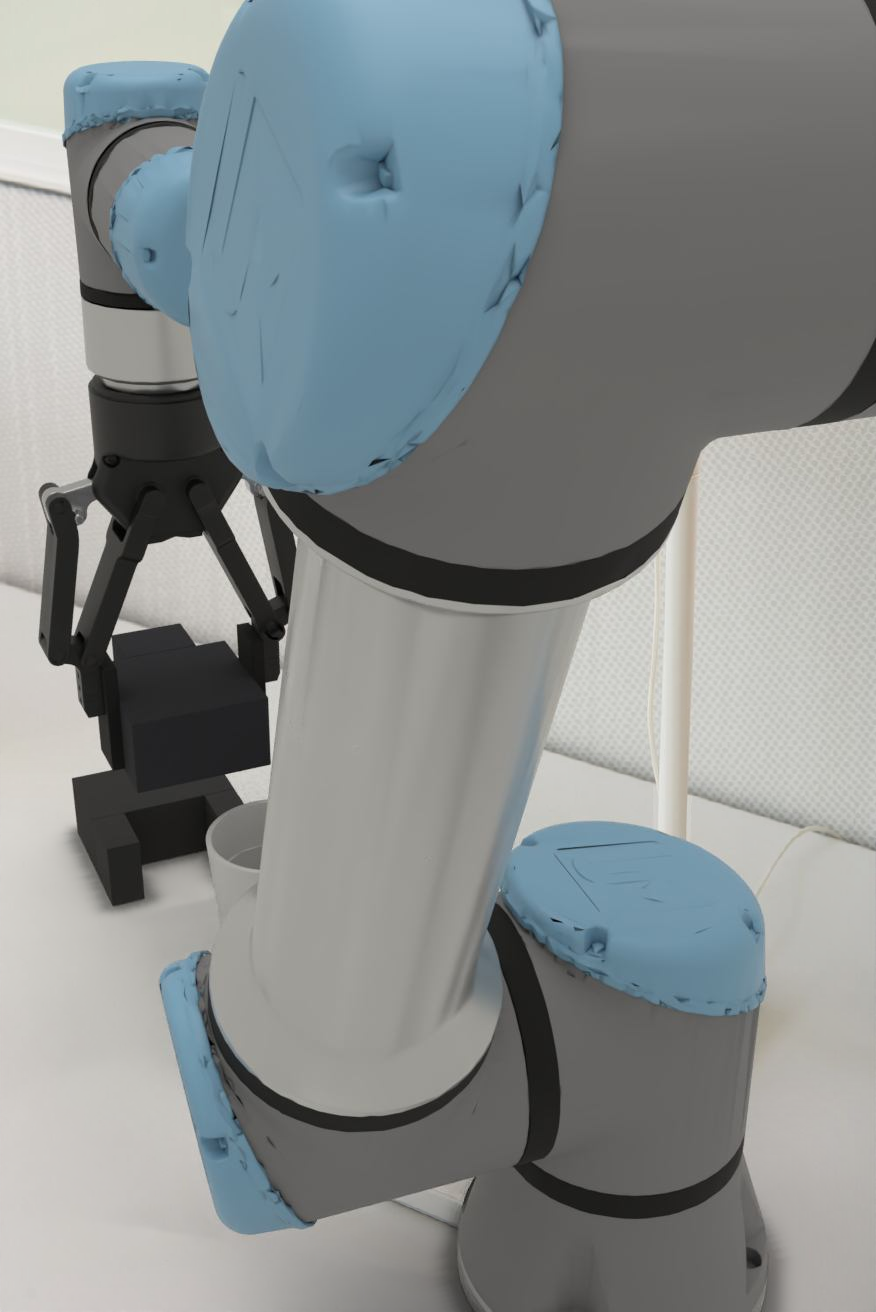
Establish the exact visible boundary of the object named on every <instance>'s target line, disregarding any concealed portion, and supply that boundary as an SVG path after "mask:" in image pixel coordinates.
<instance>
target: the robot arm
mask: <svg viewBox="0 0 876 1312" xmlns="http://www.w3.org/2000/svg"><path fill="white" fill-rule="evenodd" d="M62 88H63V89H62V90H63V91H62V93H63V117H64V131H63V133H62V135H61V139H62V147H64V148H65V150H66V158H67V167H68V168H67V169H68V177H69V179H68V180H69V186H70V197H71V206H72V215H73V224H74V233H75V234H74V235H75V244H76V252H77V263H78V273H79V293H80V300H81V301H80V303H81V315H82V327H83V342H84V355H85V364H86V367H87V369H88V370H89V371H90V372H92V373H93V376H92V378H91V379H90V380H89V382H88V385H87V390H88V400H89V413H90V422H91V423H90V424H91V434H92V446H93V459H92V464H91V466H90V468H89V471H88V473H87V477H86V478H83V479H81V480H77V481H74V482H71V483H68V484H65V485H61V486H59V485H58V484H57V483H54V482H46V483H43V484H41V486H40V487H39V490H38V499H39V502H40V506H41V508H42V511H43V515H44V518H45V521H46V534H45V547H44V548H45V549H44V559H43V560H44V561H43V574H42V585H41V587H42V588H41V598H40V599H41V600H40V613H39V624H38V625H39V626H38V637H37V639H38V644H39V645H40V647H41V649H42V651H43V653H44V655H45V657H46V659H47V660H48V662H49V664H50V665H52V666H55V667H60V666H64V665H71V666H74V668H75V669H74V670H75V680H76V688H77V700H78V702H79V704H80V706H81V708H82V710H83V711H84V713H85V714H86V716H87V718H88V719H91V718H97V721H98V733H99V741H100V750H101V752H102V754H103V756H104V757H105V760H106V761H107V763H108V765H109V767H110V769H111V770H113V771H115V770H120V769H125V764H124V752H123V741H122V730H121V718H120V707H119V704H120V699H119V688H118V677H117V668H116V666H115V665H114V663H113V662H112V661H113V660H112V658H111V656H110V655H109V654H108V651H107V650H108V648H109V645H110V642H111V641H112V635H114V631H115V629H116V626H117V623H118V620H119V616H120V614H121V612H122V608H123V606H124V604H125V600H126V598H127V594H128V592H129V589H130V586H131V584H132V581H133V578H134V575H135V572H136V571H137V570H136V569H137V567H138V564H139V563H141V562H142V561H143V559H144V557H145V556H146V555H145V554H146V551H147V549H148V546H149V545H153V544H160V543H163V542H166V541H168V540H171V539H173V538H176V537H177V538H185V539H186V538H187V539H188V538H189V539H191V538H197V537H203V536H204V538H205V540H206V542H207V543H208V545H209V547H210V549H211V551H212V552H213V554H214V556H215V558H216V560H217V561H218V563H219V565H220V566H221V568H222V571H223V573H224V574H225V575H226V578H227V579H228V581H229V583H230V585H231V587H232V588H233V590H234V592H235V593H236V596H237V598H238V599H239V601H240V603H241V605H242V607H243V608H244V610H245V612H246V613H247V615H248V617H249V618H250V622H242V623H237V624H236V639H237V642H236V643H237V657H238V659H239V660H240V661H241V663H242V664H243V665H244V667H245V668H246V669H247V671H248V672H249V673H250V674H251V676H252V677H253V678H254V680H255V681H256V682H257V684H258V685H259V686H260V688H261V689H262V690H263V691H264V693H265V694H266V695H267V685H266V684H268V683H272V682H277V681H278V680H279V677H280V674H281V682H280V690H279V698H278V699H279V700H278V707H277V715H276V725H275V732H274V734H275V735H274V741H273V751H272V758H271V759H272V760H271V768H270V777H269V787H268V793H267V794H268V795H267V799H268V802H267V811H266V820H265V829H264V837H263V846H262V855H261V864H260V872H259V881H258V882H257V883H256V884H255V885H253V886H252V887H251V888H250V889H248V890H247V891H246V892H245V893H244V894H243V895H242V896H241V897H240V899H239V900H238V901H237V902H236V903H235V904H234V905H233V907H232V908H231V910H230V911H229V913H228V914H227V916H226V917H225V919H224V921H223V923H222V925H221V927H220V926H219V929H218V931H217V932H216V933H217V934H216V936H215V940H214V942H213V946H212V950H211V951H210V950H208V949H207V950H205V949H204V950H197V951H193V952H191V953H190V954H189V956H188V957H187V958H184V959H180V960H176V961H174V962H171V963H170V964H168V965H167V966H166V967H164V968H163V970H162V972H161V974H160V975H159V980H158V987H159V993H160V997H161V1001H162V1005H163V1010H164V1014H165V1018H166V1023H167V1026H168V1031H169V1035H170V1039H171V1042H172V1046H173V1047H172V1048H173V1051H174V1054H175V1059H176V1063H177V1068H178V1071H179V1075H180V1079H181V1084H182V1087H183V1091H184V1095H185V1099H186V1103H187V1107H188V1111H189V1116H190V1118H191V1123H192V1127H193V1131H194V1135H195V1138H196V1143H197V1147H198V1150H199V1155H200V1158H201V1159H200V1160H201V1162H202V1165H203V1170H204V1173H205V1178H206V1181H207V1186H208V1190H209V1194H210V1196H211V1200H212V1204H213V1208H214V1210H215V1213H216V1215H217V1217H218V1219H219V1220H220V1222H221V1223H222V1224H223V1225H224V1226H225V1227H226V1228H227V1229H229V1230H230V1231H232V1232H234V1233H237V1234H239V1235H246V1236H254V1235H260V1234H265V1233H272V1232H277V1231H278V1232H279V1231H284V1230H289V1229H298V1230H306V1229H309V1228H312V1227H314V1226H315V1225H316V1223H317V1222H318V1220H321V1219H326V1218H328V1217H333V1216H337V1215H340V1214H344V1213H349V1212H351V1211H356V1210H358V1209H363V1208H366V1207H370V1206H374V1205H376V1204H377V1205H378V1204H380V1203H385V1202H388V1201H391V1200H392V1201H393V1200H395V1199H399V1198H403V1197H406V1196H410V1195H414V1194H417V1193H421V1192H425V1191H429V1190H432V1189H436V1188H439V1187H444V1186H446V1185H451V1184H454V1183H457V1182H461V1181H462V1182H463V1181H465V1180H469V1181H468V1182H467V1184H466V1187H465V1189H464V1191H463V1193H462V1195H461V1197H460V1199H459V1201H458V1203H457V1205H456V1207H455V1209H454V1212H453V1213H455V1212H456V1210H457V1208H459V1205H460V1203H461V1202H462V1200H463V1202H462V1206H461V1209H460V1215H459V1219H458V1224H457V1257H456V1258H457V1260H456V1261H457V1269H458V1274H459V1275H458V1276H459V1279H460V1284H461V1286H462V1289H463V1292H464V1294H465V1297H466V1299H467V1301H468V1303H469V1305H470V1306H471V1309H472V1310H473V1312H761V1311H762V1307H763V1305H764V1301H765V1297H766V1296H765V1295H766V1290H767V1283H768V1282H767V1281H768V1276H769V1263H770V1262H769V1261H770V1256H769V1245H768V1244H769V1243H768V1236H767V1229H766V1225H765V1221H764V1218H763V1214H762V1210H761V1207H760V1204H759V1201H758V1198H757V1194H756V1190H755V1187H754V1184H753V1181H752V1178H751V1174H750V1171H749V1167H748V1164H747V1161H746V1157H745V1155H744V1145H745V1138H746V1128H747V1121H748V1111H749V1102H750V1096H751V1095H750V1094H751V1086H752V1078H753V1069H754V1060H755V1054H756V1053H755V1052H756V1044H757V1036H758V1034H757V1033H758V1027H759V1018H760V1009H761V1004H762V1002H763V1001H764V1000H765V996H766V995H765V994H766V990H767V987H768V983H767V982H768V981H767V975H766V923H765V918H764V914H763V911H762V907H761V905H760V903H759V901H758V899H757V897H756V896H755V894H754V892H753V890H752V888H751V887H750V886H749V885H748V883H747V882H746V881H745V880H744V879H743V878H742V877H741V876H740V875H739V873H737V872H736V870H734V869H733V868H732V867H731V866H729V864H727V863H726V862H724V861H723V860H722V859H720V858H719V857H718V856H716V855H714V854H713V853H711V852H710V851H708V850H706V849H705V848H702V847H701V846H699V845H698V844H695V843H694V842H690V841H688V840H687V839H684V838H681V837H678V836H675V835H671V834H668V833H665V832H663V831H661V830H658V829H655V828H651V827H647V826H643V825H638V824H633V823H627V822H618V821H609V820H579V821H569V822H563V823H557V824H553V825H549V826H547V827H544V828H540V829H538V830H536V831H534V832H532V833H530V834H528V835H527V836H525V837H524V838H523V839H522V840H521V842H520V845H517V846H516V847H514V846H515V845H514V844H515V841H516V838H517V835H518V832H519V829H520V826H521V822H522V819H523V817H524V813H525V809H526V808H527V807H526V806H527V803H528V800H529V798H530V794H531V791H532V787H533V784H534V781H535V778H536V774H537V771H538V768H539V765H540V762H541V758H542V756H543V753H544V749H545V747H546V743H547V739H548V737H549V735H550V734H549V733H550V731H551V727H552V724H553V721H554V717H555V715H556V711H557V708H558V706H559V701H560V698H561V696H562V692H563V689H564V686H565V684H566V680H567V676H568V674H569V670H570V667H571V665H572V660H573V658H574V654H575V651H576V647H577V644H578V641H579V639H580V635H581V632H582V629H583V625H584V622H585V619H586V616H587V612H588V611H589V606H590V603H591V600H595V599H596V598H599V597H601V596H603V595H605V594H607V593H610V592H612V591H613V590H615V589H617V588H619V587H621V586H622V585H624V584H626V583H628V581H630V580H631V579H633V578H635V577H636V576H637V575H639V574H640V573H641V572H642V571H643V570H644V569H645V568H646V567H647V566H648V565H649V564H650V563H651V562H652V561H653V560H654V559H656V557H657V556H658V554H659V553H660V551H661V550H662V549H663V547H664V545H665V544H666V542H667V541H668V539H669V537H670V535H671V533H672V530H673V529H674V526H675V523H676V520H677V519H678V516H679V513H680V510H681V507H682V504H683V501H684V498H685V495H686V493H687V491H688V487H689V484H690V482H691V479H692V477H693V474H694V471H695V468H696V466H697V462H698V460H699V458H700V455H701V453H702V451H703V450H704V449H705V448H706V447H707V446H708V445H709V444H710V443H712V442H713V441H715V440H718V439H721V438H728V437H735V436H743V435H750V434H758V433H764V432H765V433H766V432H774V431H775V432H776V431H786V430H791V429H796V428H803V427H812V426H819V425H826V424H834V423H839V422H845V421H853V420H859V419H867V418H875V417H876V0H244V1H243V2H242V4H241V5H240V7H239V8H238V10H237V11H236V13H235V15H234V17H233V18H232V19H231V22H230V23H229V25H228V27H227V29H226V31H225V33H224V35H223V38H222V40H221V41H220V44H219V47H218V49H217V51H216V53H215V57H214V60H213V62H212V65H211V68H210V72H208V71H206V69H204V68H202V67H200V66H198V65H196V64H191V63H185V62H179V61H165V60H120V61H107V62H99V63H92V64H88V65H83V66H80V67H78V68H76V69H74V70H73V71H72V72H70V73H69V74H68V75H67V77H66V79H65V80H64V83H63V87H62ZM241 480H244V484H245V488H246V489H247V490H248V492H249V493H250V494H252V496H253V502H254V506H255V511H256V516H257V520H258V523H259V528H260V532H261V537H262V541H263V545H264V551H265V555H266V559H267V564H268V568H269V573H270V577H271V581H272V585H273V590H274V597H272V598H269V599H268V597H267V595H266V593H265V591H264V589H263V588H262V586H261V584H260V582H259V580H258V579H257V577H256V575H255V573H254V571H253V569H252V567H251V565H250V564H249V561H248V559H247V558H246V556H245V554H244V552H243V551H242V549H241V547H240V545H239V543H238V541H237V539H236V536H235V534H234V532H233V530H232V528H231V526H230V525H229V523H228V521H227V519H226V517H225V515H224V513H223V512H222V511H223V509H224V507H225V506H226V504H227V503H228V501H229V499H230V498H231V496H232V494H233V493H234V491H235V490H236V488H237V487H238V485H239V484H240V481H241ZM95 501H97V502H98V504H100V505H101V506H102V507H103V508H104V509H105V510H106V511H107V512H108V513H109V515H110V516H111V518H110V521H109V524H108V527H107V530H106V533H105V545H104V547H103V551H102V553H101V556H100V559H99V562H98V565H97V568H96V571H95V573H94V577H93V579H92V582H91V585H90V588H89V590H88V594H87V596H86V600H85V602H84V605H83V607H82V611H81V614H80V616H79V619H78V622H77V625H76V627H75V630H74V633H73V624H74V623H73V622H74V611H75V602H76V601H75V599H76V590H77V589H76V588H77V578H78V577H77V575H78V564H79V553H80V535H79V534H80V533H79V528H78V526H80V525H83V524H84V523H85V521H86V520H87V517H88V508H89V507H90V505H91V504H92V503H93V502H95ZM294 535H295V536H294ZM295 537H297V541H296V540H295ZM285 626H287V628H286V627H285ZM286 629H287V630H286ZM284 637H286V638H285V646H284V653H283V655H284V656H283V665H282V673H281V664H280V663H281V659H280V657H281V655H280V654H281V653H280V641H281V640H283V639H284ZM513 847H514V848H513Z"/></svg>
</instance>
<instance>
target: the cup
mask: <svg viewBox="0 0 876 1312" xmlns="http://www.w3.org/2000/svg"><path fill="white" fill-rule="evenodd" d="M267 802H268V798H267V799H260V800H253V801H250V802H247V803H246V802H245V803H244V804H243V805H240V806H237V807H235V808H232V809H230V810H228V811H227V812H225V813H223V814H222V815H221V816H219V817H218V818H217V819H216V820H215V821H214V822H213V823H212V824H211V826H210V827H209V829H208V831H207V834H206V846H207V850H206V851H207V856H208V862H209V867H210V873H211V879H212V885H213V890H214V895H215V901H216V902H215V903H216V909H217V915H218V921H219V928H220V927H221V925H222V923H223V921H224V919H225V917H226V916H227V914H228V913H229V911H230V910H231V908H232V907H233V905H234V904H235V903H236V902H237V901H238V900H239V899H240V897H241V896H242V895H243V894H244V893H245V892H246V891H247V890H248V889H250V888H251V887H252V886H253V885H255V884H256V883H257V882H258V881H259V872H260V864H261V855H262V846H263V837H264V829H265V820H266V811H267Z"/></svg>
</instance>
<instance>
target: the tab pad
mask: <svg viewBox="0 0 876 1312" xmlns="http://www.w3.org/2000/svg"><path fill="white" fill-rule="evenodd" d="M111 647H112V658H113V660H112V662H113V663H114V665H115V666H116V668H117V677H118V688H119V699H120V704H119V707H120V718H121V730H122V741H123V752H124V764H125V769H124V770H125V772H126V773H127V775H128V777H129V779H130V781H131V783H132V784H133V786H134V788H135V790H136V792H137V793H142V792H147V791H151V790H156V789H161V788H165V787H170V786H174V785H179V784H184V783H188V782H193V781H198V780H202V779H207V778H211V777H216V776H221V775H229V774H234V773H238V772H239V773H240V772H243V771H248V770H253V769H258V768H263V767H266V766H270V765H271V766H272V760H271V759H272V758H271V757H272V756H271V735H270V734H271V733H270V707H269V706H270V705H269V697H268V695H267V693H266V694H265V693H264V691H263V690H262V689H261V688H260V686H259V685H258V684H257V682H256V681H255V680H254V678H253V677H252V676H251V674H250V673H249V672H248V671H247V669H246V668H245V667H244V665H243V664H242V663H241V661H240V660H239V659H238V655H237V654H236V653H235V652H234V651H233V648H232V647H231V646H230V645H229V644H228V642H227V641H226V640H219V641H215V642H214V641H213V642H208V643H203V644H197V645H196V643H195V641H194V640H193V639H192V638H191V636H190V635H189V633H188V632H187V631H186V629H185V628H184V626H183V625H182V624H181V622H179V623H173V624H167V625H161V626H156V627H150V628H145V629H140V630H133V631H129V632H128V631H127V632H122V633H117V634H112V637H111Z"/></svg>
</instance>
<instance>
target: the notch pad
mask: <svg viewBox="0 0 876 1312" xmlns="http://www.w3.org/2000/svg"><path fill="white" fill-rule="evenodd" d="M71 784H72V791H73V792H72V794H73V802H74V812H75V820H76V830H77V834H78V837H79V838H80V840H81V843H82V845H83V847H84V848H85V851H86V853H87V855H88V857H89V859H90V861H91V863H92V865H93V869H94V870H95V872H96V874H97V876H98V878H99V880H100V882H101V884H102V887H103V889H104V891H105V893H106V895H107V897H108V899H109V901H110V904H111V906H112V907H115V906H119V905H123V904H127V903H132V902H136V901H139V900H144V899H145V898H146V897H145V887H144V875H143V866H144V865H149V864H152V863H157V862H161V861H166V860H170V859H175V858H178V857H182V856H187V855H192V854H195V853H201V852H204V851H207V846H206V834H207V831H208V829H209V827H210V826H211V824H212V823H213V822H214V821H215V820H216V819H217V818H218V817H219V816H221V815H222V814H223V813H225V812H227V811H228V810H230V809H232V808H235V807H237V806H240V805H243V804H245V802H244V801H243V800H242V798H241V796H240V795H239V794H238V792H237V791H236V789H235V787H234V786H233V784H232V783H231V781H230V780H229V778H228V777H227V774H225V775H221V776H216V777H211V778H207V779H202V780H198V781H193V782H188V783H184V784H179V785H174V786H170V787H165V788H161V789H156V790H151V791H147V792H142V793H137V792H136V790H135V788H134V786H133V784H132V783H131V781H130V779H129V777H128V775H127V773H126V772H125V770H124V769H120V770H115V771H113V770H112V769H109V770H104V771H100V772H94V773H90V774H85V775H81V776H76V777H72V778H71Z"/></svg>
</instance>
